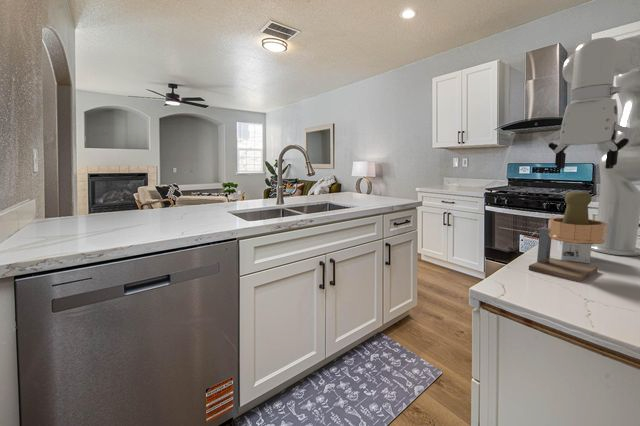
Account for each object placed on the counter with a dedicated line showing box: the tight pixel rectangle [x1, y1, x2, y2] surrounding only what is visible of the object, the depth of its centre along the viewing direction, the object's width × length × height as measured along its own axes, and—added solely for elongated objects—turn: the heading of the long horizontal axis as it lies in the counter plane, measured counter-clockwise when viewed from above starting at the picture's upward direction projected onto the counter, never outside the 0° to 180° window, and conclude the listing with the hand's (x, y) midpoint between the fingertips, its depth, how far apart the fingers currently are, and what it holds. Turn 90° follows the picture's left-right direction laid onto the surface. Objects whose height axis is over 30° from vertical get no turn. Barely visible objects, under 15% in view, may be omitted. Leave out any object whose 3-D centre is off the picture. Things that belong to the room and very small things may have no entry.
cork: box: [562, 190, 593, 225], centre depth 78 cm, size 6×6×11 cm
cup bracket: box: [528, 217, 608, 283], centre depth 80 cm, size 12×13×14 cm
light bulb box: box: [556, 240, 592, 264], centre depth 92 cm, size 11×7×11 cm, turn 148°
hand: (583, 168), depth 77 cm, fingers open, 9 cm apart
